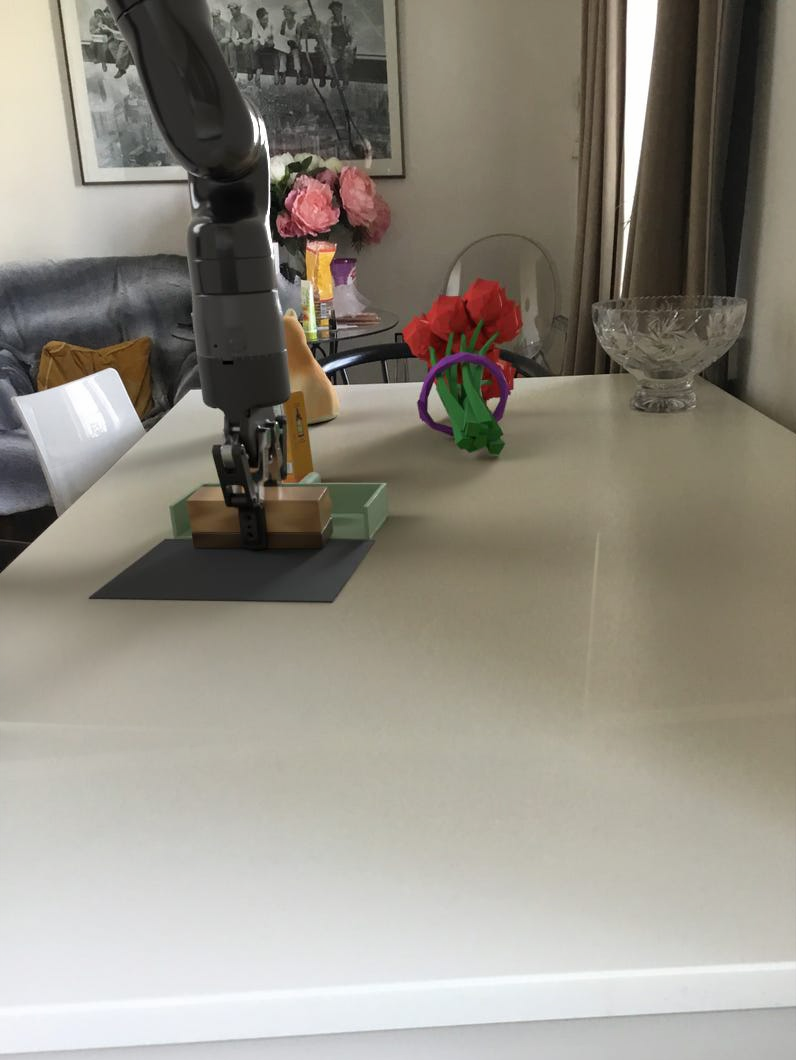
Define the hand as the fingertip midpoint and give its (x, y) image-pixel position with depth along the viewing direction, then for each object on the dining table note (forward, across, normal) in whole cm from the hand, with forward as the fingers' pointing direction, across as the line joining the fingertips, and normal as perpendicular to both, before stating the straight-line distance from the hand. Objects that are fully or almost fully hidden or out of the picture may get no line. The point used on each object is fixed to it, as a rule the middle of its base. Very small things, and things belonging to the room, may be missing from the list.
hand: (263, 539), depth 96 cm
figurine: (+1, -60, -13) cm, 61 cm away
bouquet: (+1, -47, +14) cm, 49 cm away
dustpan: (+1, -10, 0) cm, 10 cm away
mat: (+1, +7, 0) cm, 7 cm away
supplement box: (+1, -22, -4) cm, 23 cm away
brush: (0, 0, 0) cm, 0 cm away
